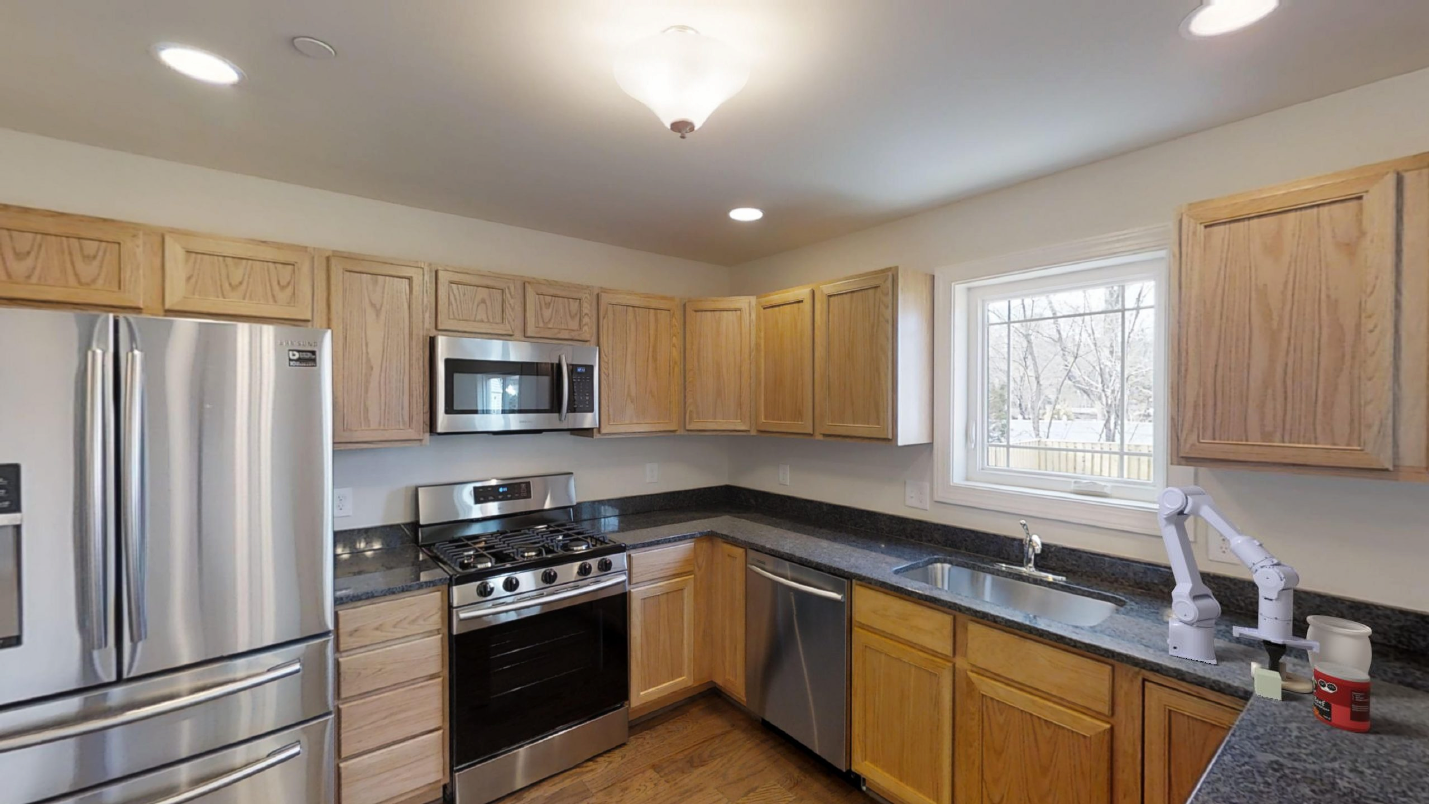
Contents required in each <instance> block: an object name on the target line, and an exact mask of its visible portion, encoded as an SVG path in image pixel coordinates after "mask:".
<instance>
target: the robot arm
mask: <svg viewBox="0 0 1429 804" xmlns="http://www.w3.org/2000/svg"><path fill="white" fill-rule="evenodd" d="M1156 499H1157V502H1158V510H1157V515H1156V518H1157V524H1158V526H1159V529H1160V533H1161V535H1162V536H1161V537H1162V539H1163V540H1162V541H1163V542H1164V543H1163V544H1164V545H1165V546H1164V547H1165V549H1166V553H1167V557H1168V560H1169V563H1170V567H1171V570H1172V573H1173V576H1174V580H1175V583H1176V585H1175V587H1174V589H1173V590H1172V592H1171V597H1172V603H1171V610H1172V613H1173V615H1174V616H1175V617H1169V618H1168V637H1167V638H1166V642H1167V644H1166V645H1167V646H1168V655H1170V656H1173V657H1177V656H1178V658H1182V659H1186V658H1187V660H1191V659H1192V660H1191V661H1196V660H1198V661H1197V662H1200V661H1204V662H1203V663H1205V662H1206V664H1209V663H1211V664H1210V665H1214V664H1217V665H1218V663H1217V662H1218V661H1217V657H1216V654H1215V623H1216V619H1217V618H1219V617H1220V616H1221V613H1222V608H1221V605H1220V603H1219V601H1218V600H1217V599H1216V597H1215V596H1214V595H1213V591H1212V590H1211V589H1210V588H1209V587H1208V586H1207V585H1206V584H1205V583H1203V579H1202V578H1201V573H1200V571H1199V568H1198V564H1197V559H1196V557H1195V555H1194V554H1195V553H1194V551H1193V548H1192V545H1191V542H1190V539H1189V534H1188V532H1187V528H1186V525H1185V522H1186V521H1187V520H1188V519H1189V518H1190V517H1191V516H1194V517H1197V518H1198V517H1199V518H1201V519H1203V520H1204V521H1205V522H1206V523H1207V524H1209V526H1210V527H1212V528H1213V529H1214V530H1215V531H1216V532H1217V533H1219V535H1221V536H1222V537H1223V538H1224V539H1225V540H1226V541H1228V543H1229V550H1230V552H1231V553H1232V554H1233V555H1235V557H1236V558H1238V559H1239V560H1240V562H1241V563H1242V564H1244V565H1245V567H1246V568H1248V570H1249V571H1250V572H1252V577H1253V578H1252V579H1253V581H1254V583H1255V585H1256V586H1257V587H1258V614H1257V615H1258V621H1257V622H1258V623H1257V624H1258V625H1257V628H1253V627H1244V626H1237V625H1233V626H1232V636H1233V637H1237V638H1240V637H1241V638H1244V639H1245V638H1246V639H1251V640H1254V641H1255V640H1256V641H1261V642H1262V645H1263V647H1264V649H1265V651H1266V653H1267V655H1268V658H1269V660H1268V667H1267V670H1270V671H1275V672H1278V662H1280V661H1281V659H1282V658H1283V657H1284V656H1285V654H1286V653H1287V651H1288V649H1287V647H1292V648H1297V649H1301V650H1306V651H1307V650H1311V651H1313V652H1316V653H1320V644H1319V643H1318V642H1316V641H1311V640H1307V638H1303V637H1298V636H1294V635H1293V612H1294V610H1293V609H1294V588H1296V587H1297V586H1298V585H1299V584H1300V576H1299V574H1298V572H1297V571H1296V569H1294V567H1293V566H1291V565H1289V564H1288V563H1283V562H1282V561H1281V560H1280V558H1278V557H1277V558H1276V557H1275V556H1274V555H1273V554H1272V553H1271V552H1270V551H1269V550H1267V548H1266V547H1264V542H1263V541H1261V540H1260V539H1256V537H1254V536H1249V535H1245V534H1243V532H1242V531H1241V530H1240V529H1239V528H1238V527H1237V526H1236V525H1235V523H1233V521H1231V519H1230V518H1229V517H1228V516H1227V515H1226V514H1225V513H1224V512H1223V511H1222V510H1221V508H1220V507H1218V505H1217V504H1216V503H1215V501H1214V498H1213V497H1212V496H1211V495H1210V494H1209V493H1207V492H1206V490H1205V489H1204V488H1202V487H1200V486H1197V485H1189V486H1178V487H1177V486H1176V487H1175V486H1169V487H1165V488H1164V489H1163V490H1162V491H1161V492H1160V493H1159V494H1158V496H1157V497H1156Z"/></svg>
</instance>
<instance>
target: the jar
mask: <svg viewBox="0 0 1429 804" xmlns="http://www.w3.org/2000/svg"><path fill="white" fill-rule="evenodd" d="M1306 622H1307V623H1308V624H1309V627H1308V629H1307V634H1306V639H1307V640H1311V641H1316V642H1318V643H1319V644H1320V653H1316V652H1313V651H1311V650H1306V651H1307V654H1308V661H1309V664H1310V667H1311V670H1312V673H1314V664H1315V663H1316V662H1329V663H1336V664H1340V665H1345V666H1348V667H1351V668H1355V669H1357V670H1360V671H1362V672H1364V673H1366V674H1368V675H1369V670H1370V667H1371V663H1372V659H1373V658H1372V656H1373V655H1372V653H1373V652H1372V644H1371V641H1370V638H1369V636H1371V635H1372V632H1373V631H1372V629H1371V627H1369V626H1367V625H1365V624H1362V623H1359V622H1356V621H1353V620H1349V619H1345V618H1340V617H1334V616H1328V615H1308V616H1307V617H1306ZM1311 681H1312V682H1314V675H1313V676H1312V677H1311Z"/></svg>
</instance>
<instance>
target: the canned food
mask: <svg viewBox="0 0 1429 804" xmlns="http://www.w3.org/2000/svg"><path fill="white" fill-rule="evenodd" d="M1313 676H1314V681H1313V695H1312V696H1313V701H1312V702H1313V703H1312V704H1313V707H1312V710H1313V714H1314V716H1315V718H1316V719H1318V720H1319V721H1320V722H1322V723H1324V724H1326V725H1329V726H1331V727H1333V728H1337V729H1340V730H1343V731H1346V732H1347V731H1348V732H1353V733H1360V734H1361V733H1367V732H1368V731H1369V729H1370V724H1371V723H1370V722H1371V721H1370V720H1371V717H1370V716H1371V715H1370V714H1371V676H1370V675H1369V673H1368V674H1366V673H1364V672H1362V671H1360V670H1357V669H1355V668H1351V667H1348V666H1345V665H1340V664H1336V663H1329V662H1316V663H1315V664H1314V672H1313Z"/></svg>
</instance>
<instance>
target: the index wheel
mask: <svg viewBox="0 0 1429 804" xmlns="http://www.w3.org/2000/svg"><path fill="white" fill-rule="evenodd" d="M1278 672H1279V675H1280V677H1281V689H1283V690H1286V691H1291V692H1296V693H1305V694H1308V693H1309V694H1310V693H1312V692H1313V690H1314V683H1313V681H1312V680H1309V678H1306V677H1304V676H1301V675H1300V674H1296V673H1292V672H1290V671H1287V663H1285V662H1283V661H1279V662H1278Z"/></svg>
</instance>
